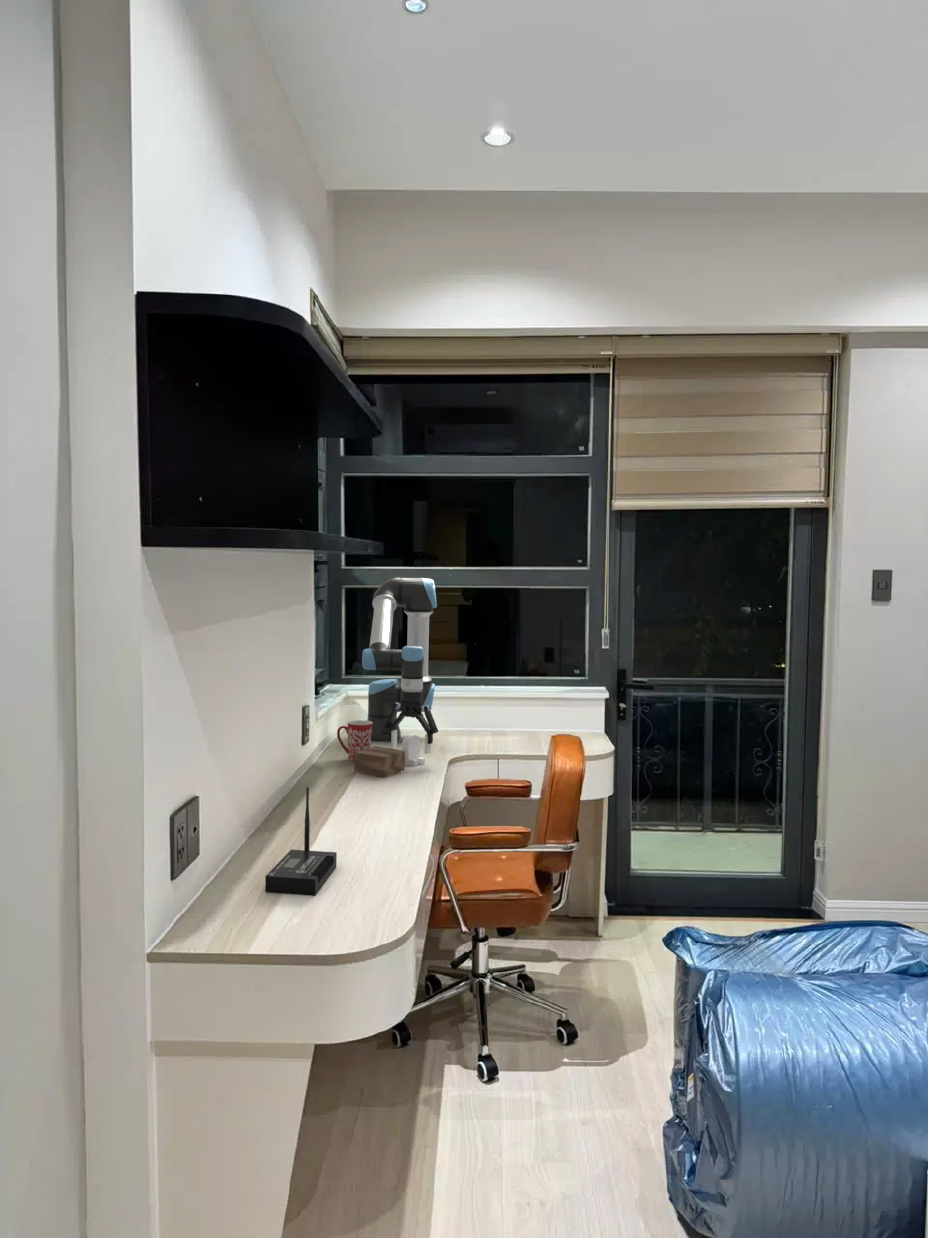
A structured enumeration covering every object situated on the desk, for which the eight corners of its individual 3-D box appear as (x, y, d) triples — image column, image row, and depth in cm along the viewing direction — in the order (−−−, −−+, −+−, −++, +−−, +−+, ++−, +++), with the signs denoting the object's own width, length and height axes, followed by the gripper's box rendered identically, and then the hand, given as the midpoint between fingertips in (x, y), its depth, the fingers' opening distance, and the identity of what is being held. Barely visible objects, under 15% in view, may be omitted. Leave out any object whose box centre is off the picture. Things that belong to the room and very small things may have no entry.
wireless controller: (323, 898, 159) (325, 814, 158) (256, 894, 161) (257, 811, 160) (348, 863, 179) (349, 788, 178) (288, 859, 181) (289, 785, 180)
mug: (375, 758, 283) (376, 720, 282) (367, 763, 274) (368, 725, 273) (341, 756, 285) (342, 718, 284) (332, 761, 276) (333, 723, 276)
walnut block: (375, 766, 271) (375, 746, 271) (404, 771, 265) (404, 750, 265) (353, 773, 261) (354, 752, 260) (383, 778, 255) (383, 757, 255)
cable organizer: (413, 766, 272) (414, 737, 272) (395, 761, 279) (396, 733, 279) (425, 764, 276) (426, 735, 275) (406, 759, 283) (407, 731, 282)
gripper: (375, 688, 278) (374, 748, 279) (438, 694, 267) (436, 756, 268) (387, 686, 285) (385, 745, 286) (448, 692, 274) (447, 753, 275)
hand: (410, 751), depth 277 cm, fingers open, 13 cm apart
